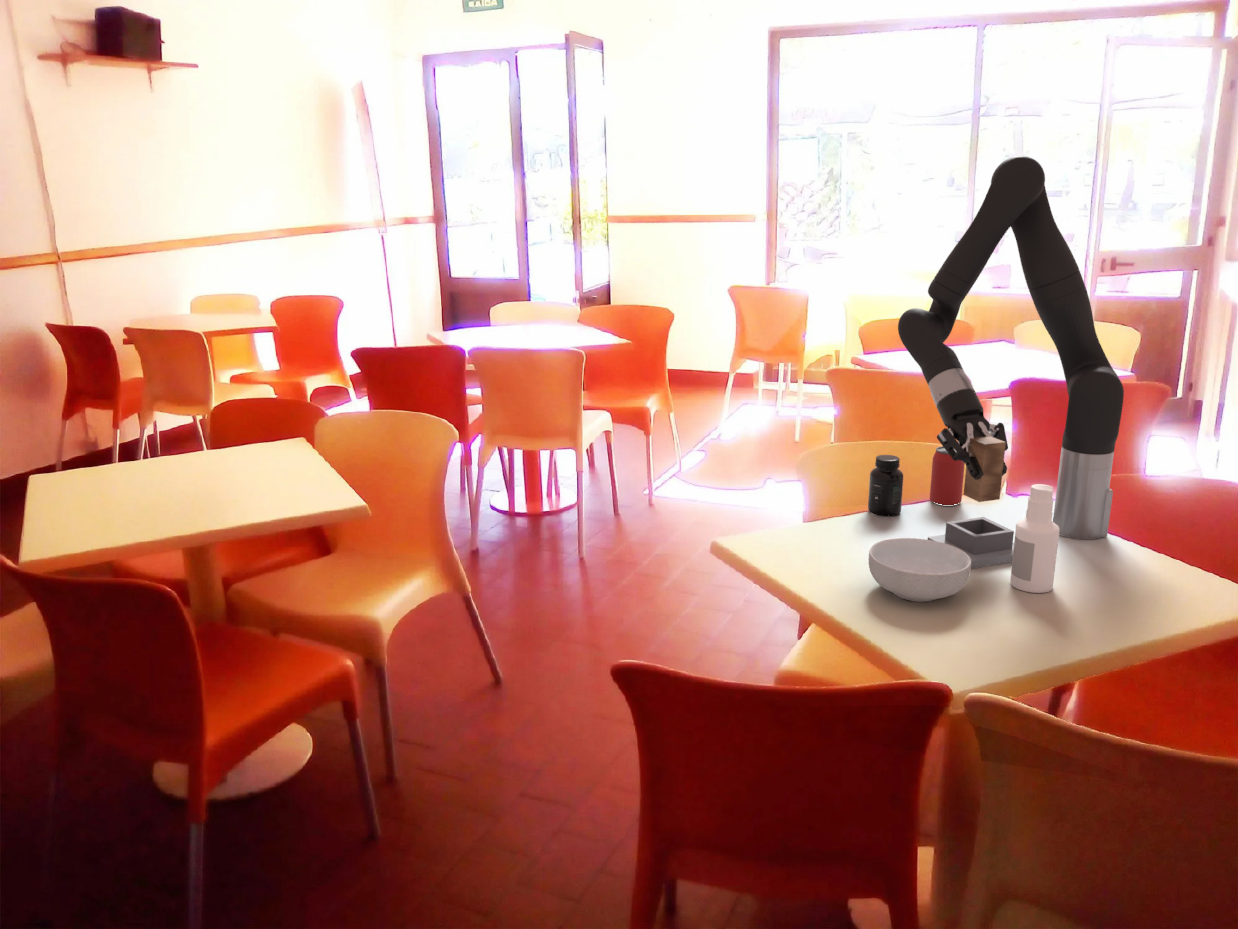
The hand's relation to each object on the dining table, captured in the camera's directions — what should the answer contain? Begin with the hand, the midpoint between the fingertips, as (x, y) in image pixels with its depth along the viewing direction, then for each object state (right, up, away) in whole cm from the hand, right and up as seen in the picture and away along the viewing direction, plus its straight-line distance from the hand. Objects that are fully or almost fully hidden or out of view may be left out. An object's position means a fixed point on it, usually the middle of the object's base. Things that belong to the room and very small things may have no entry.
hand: (990, 475), depth 176 cm
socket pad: (0, -14, +6) cm, 16 cm away
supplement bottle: (-12, -8, +29) cm, 32 cm away
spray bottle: (+3, -19, -9) cm, 22 cm away
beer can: (+3, -6, +34) cm, 34 cm away
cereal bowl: (-17, -20, -11) cm, 29 cm away
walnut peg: (-1, -4, +3) cm, 5 cm away
